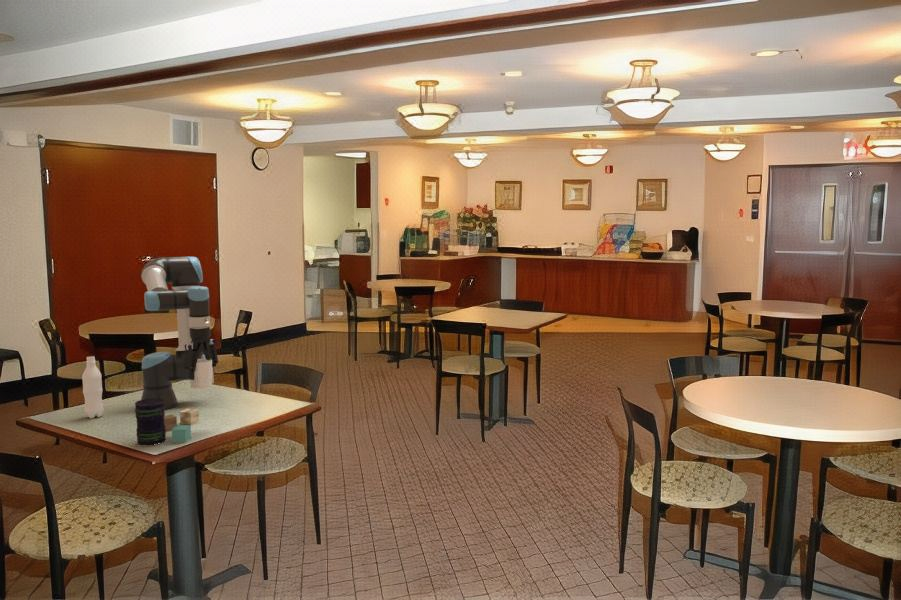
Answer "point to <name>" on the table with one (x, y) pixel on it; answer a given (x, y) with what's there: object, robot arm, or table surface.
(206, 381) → the white cup
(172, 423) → the walnut block
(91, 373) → the water bottle
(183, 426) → the teal block
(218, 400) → the table surface
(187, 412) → the maple block
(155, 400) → the storage jar
